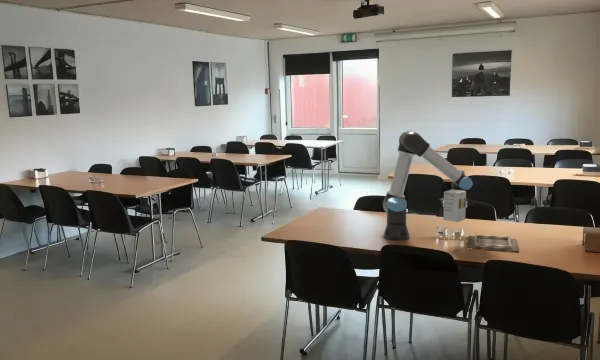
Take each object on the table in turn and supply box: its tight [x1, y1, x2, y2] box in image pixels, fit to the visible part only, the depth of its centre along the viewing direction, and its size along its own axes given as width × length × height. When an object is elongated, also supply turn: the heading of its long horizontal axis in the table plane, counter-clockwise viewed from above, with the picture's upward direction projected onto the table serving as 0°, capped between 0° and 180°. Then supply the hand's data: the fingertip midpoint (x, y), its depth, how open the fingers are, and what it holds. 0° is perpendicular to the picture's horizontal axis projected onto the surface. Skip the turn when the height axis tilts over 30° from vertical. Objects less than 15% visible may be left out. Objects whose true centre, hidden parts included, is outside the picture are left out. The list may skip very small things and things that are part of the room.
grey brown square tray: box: [467, 234, 519, 253], centre depth 291 cm, size 26×24×2 cm
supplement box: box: [442, 189, 467, 223], centre depth 292 cm, size 10×9×17 cm
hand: (454, 204), depth 291 cm, fingers closed on supplement box, 12 cm apart
